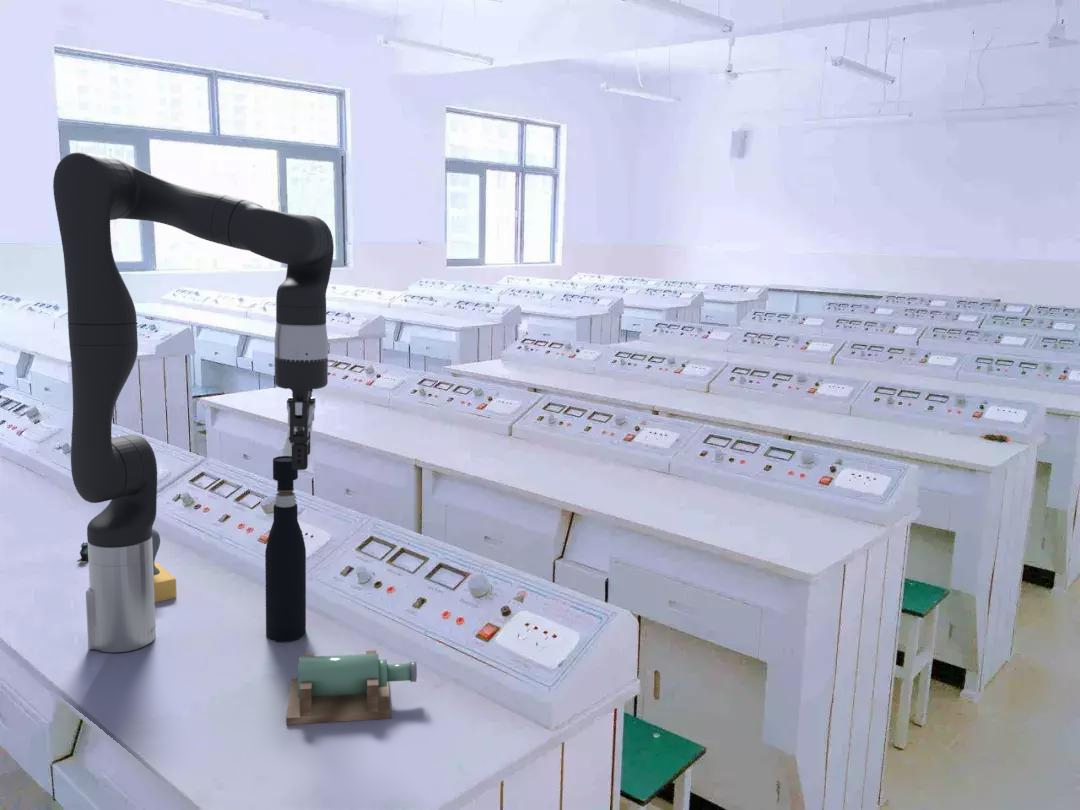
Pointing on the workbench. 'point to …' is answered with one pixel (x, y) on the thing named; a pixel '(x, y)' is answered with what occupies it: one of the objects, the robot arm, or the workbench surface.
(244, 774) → the workbench surface
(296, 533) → the wine bottle
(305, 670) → the green bottle
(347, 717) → the u rest
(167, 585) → the rubber stamp
